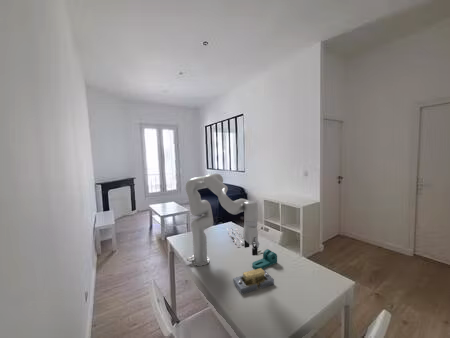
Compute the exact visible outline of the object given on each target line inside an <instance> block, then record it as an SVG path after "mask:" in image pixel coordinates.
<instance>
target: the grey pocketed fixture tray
mask: <svg viewBox="0 0 450 338" xmlns="http://www.w3.org/2000/svg"><path fill="white" fill-rule="evenodd" d="M263 270H264V271H265V281H261V282H259V285H257V284H256V283H254V284H251V285H247V286H246V284H245V283H244V282H243V275H240V276H236V277H233V278H232V279H233V280H232V282H233V285H234V287H235V288H236V289H237V291H239V294H241V295H243V294H247V293H249V292H253V291H256V290H258V287H259V289H262V288H267V287H270V286H273V285H274V284H275V281H274V278H273V277H272V276H271V275H270V274H269V272H267V271H266V270H265V269H263Z"/></svg>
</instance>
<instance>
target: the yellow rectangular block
mask: <svg viewBox="0 0 450 338" xmlns="http://www.w3.org/2000/svg"><path fill="white" fill-rule="evenodd" d="M264 270H265V269H264V268H263V269H262V268H259V269H256V270H255V269H253V270H252V269H251V270H249V271H245V272H242V276H243V282H244V283H245V284H246V286H247V285H251V284H254V283H256V284H257V286H259V282H261V281H265V271H266V270H265V271H264Z"/></svg>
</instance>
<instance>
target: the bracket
mask: <svg viewBox="0 0 450 338" xmlns="http://www.w3.org/2000/svg"><path fill="white" fill-rule="evenodd" d="M277 263H278V255H277V253H276V252H274V251H272V250H270V249H268V248H267V249H265V250H264V251H263V254H262V258H261V259H258V260H255V261H253V262H252V263H251V264H252V268H253V270H256V269H259V268H262V269H263V270H264V269H265V268H267V267H270V266H272V265H275V264H277Z"/></svg>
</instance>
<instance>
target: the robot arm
mask: <svg viewBox="0 0 450 338" xmlns="http://www.w3.org/2000/svg"><path fill="white" fill-rule="evenodd" d="M186 181H187V182H186V183H185V191H186V192H185V193H186V195H187V198H188V203H189V210H190V214H191V216H193V217H196V218H194V219H192V221H191V223H190V229H191V230H190V231H191V234H192V235H191V236H192V246H193V247H192V248H193V249H192V252H193V254H192V256H191V257H186V261H187V262H189V263H191V265H192V266H195V265H197V266H196V267H203V266H202V265H204V266H206V265H208V264H209V263H210V258H209V257H208V245H207V243H208V242H207V235H206V232H205V230H207V229H209V228H211V227H212V226H213V224H214V217H213V211H212V206H211V203H210V202H209V201H208V200H207V199H202V198H201V196H202V195H201V194H200V191H199V190H202V189H208V190H210V192H212V193H213V194H214V195H216V196H217V198H218V202H219V204H220V205H221V207H222V208H223V209H224V210H226V211H227V212H228V213H229V214H231V215H238V214H240V213H243V212H244V213H243V215H244V217H243V219H244V220H243V221H244V224H243V233H242V237H243V238H242V239H243V241H244V242H243V243H244V245H243V246H244V248H245V249H247V248H250V245H251V246H252V248H251V255H252V256H257V255H258V253H259V252H258V251H259V247H260V243H259V235H258V234H259V233H258V215H259V214H258V212H259V211H258V207H259V206H258V202H257V201H255V200H249V199H246V198H239V199H236V200H232V199H231V198H230V197H229V196H228V195H227V192H228V186H227V185H226V184H225V183H224V178H223V176H222V175H221V174H219V173H211V174H207V175H204V176H203V175H202V176H198V177H196V176H195V177H193V178H190V179H188V180H186Z"/></svg>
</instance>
